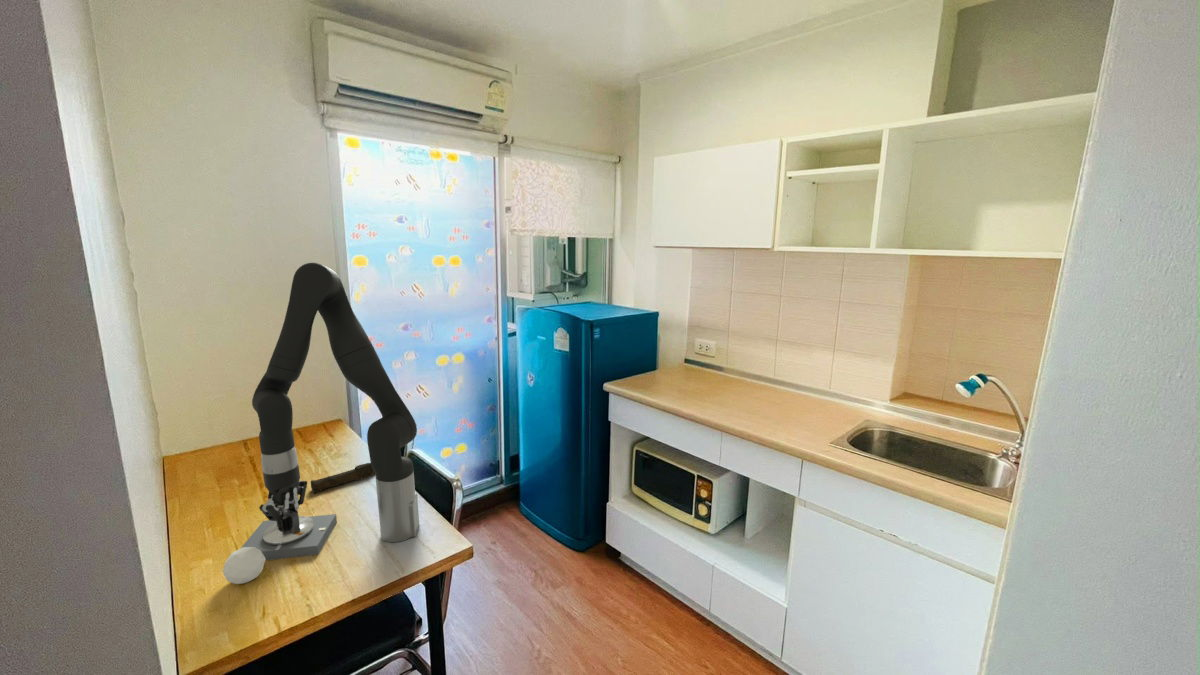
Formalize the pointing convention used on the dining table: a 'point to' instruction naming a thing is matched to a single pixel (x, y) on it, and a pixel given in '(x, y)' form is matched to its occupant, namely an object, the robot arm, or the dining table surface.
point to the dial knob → (297, 530)
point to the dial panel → (297, 548)
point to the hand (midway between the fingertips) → (289, 527)
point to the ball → (244, 565)
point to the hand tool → (343, 477)
